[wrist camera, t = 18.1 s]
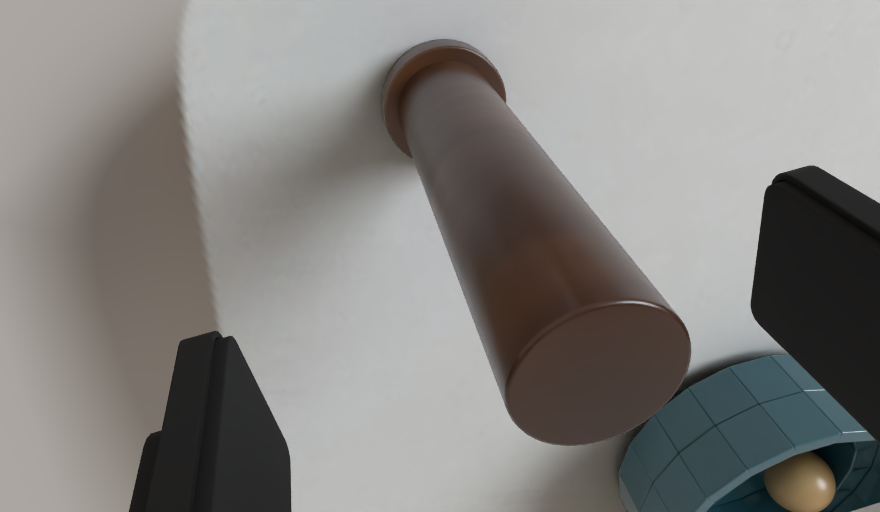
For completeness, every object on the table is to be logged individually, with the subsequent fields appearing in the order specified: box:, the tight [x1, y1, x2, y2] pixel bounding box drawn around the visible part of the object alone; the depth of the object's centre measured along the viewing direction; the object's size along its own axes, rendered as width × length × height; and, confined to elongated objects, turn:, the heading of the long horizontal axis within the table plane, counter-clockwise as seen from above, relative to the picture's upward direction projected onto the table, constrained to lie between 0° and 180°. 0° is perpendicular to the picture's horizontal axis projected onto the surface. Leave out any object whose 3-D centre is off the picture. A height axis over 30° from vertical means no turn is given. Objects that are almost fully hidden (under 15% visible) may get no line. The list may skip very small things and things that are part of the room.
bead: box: [764, 451, 836, 512], centre depth 30 cm, size 3×3×3 cm
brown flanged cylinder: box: [381, 39, 691, 446], centre depth 14 cm, size 4×4×12 cm
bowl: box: [619, 354, 880, 512], centre depth 29 cm, size 12×12×5 cm
